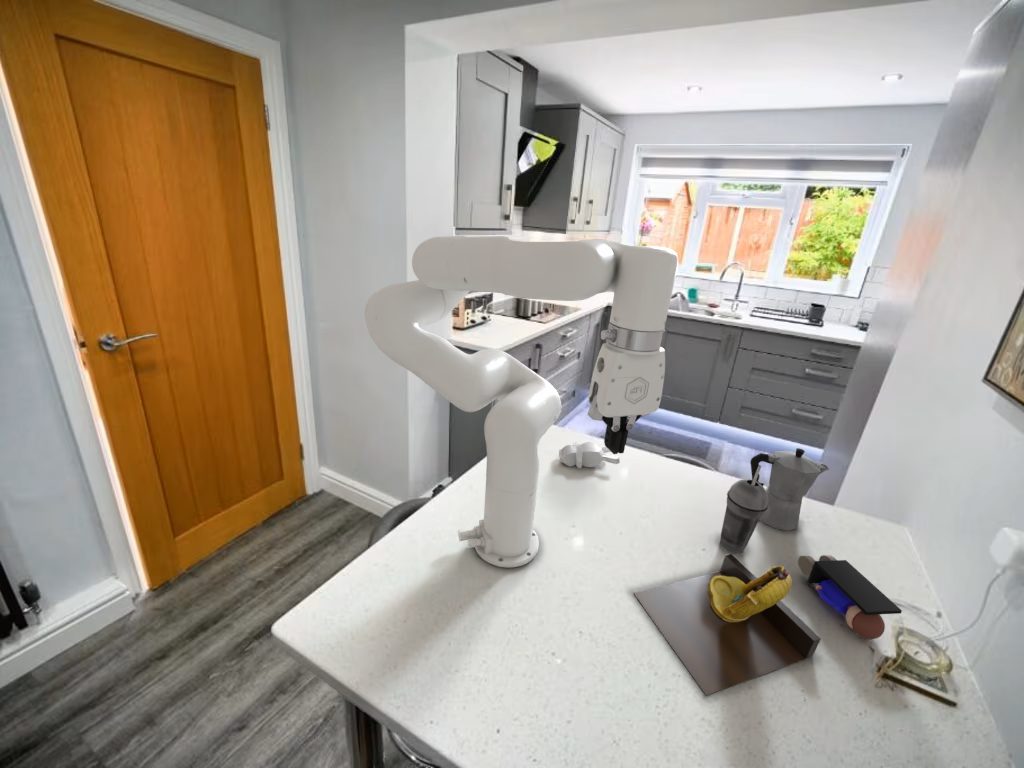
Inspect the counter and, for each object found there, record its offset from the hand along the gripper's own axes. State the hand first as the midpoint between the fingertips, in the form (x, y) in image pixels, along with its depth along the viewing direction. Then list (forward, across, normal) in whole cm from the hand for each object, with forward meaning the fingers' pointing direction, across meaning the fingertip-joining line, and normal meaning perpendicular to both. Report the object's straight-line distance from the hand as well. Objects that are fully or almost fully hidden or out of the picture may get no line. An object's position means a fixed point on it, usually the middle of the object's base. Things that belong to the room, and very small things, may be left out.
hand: (613, 449), depth 69 cm
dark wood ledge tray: (+27, +16, -14) cm, 34 cm away
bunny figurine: (+27, +18, +35) cm, 48 cm away
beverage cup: (+27, +33, 0) cm, 43 cm away
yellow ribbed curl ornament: (+27, +20, -14) cm, 37 cm away
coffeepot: (+27, +50, +5) cm, 57 cm away
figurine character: (+27, +40, -17) cm, 51 cm away
